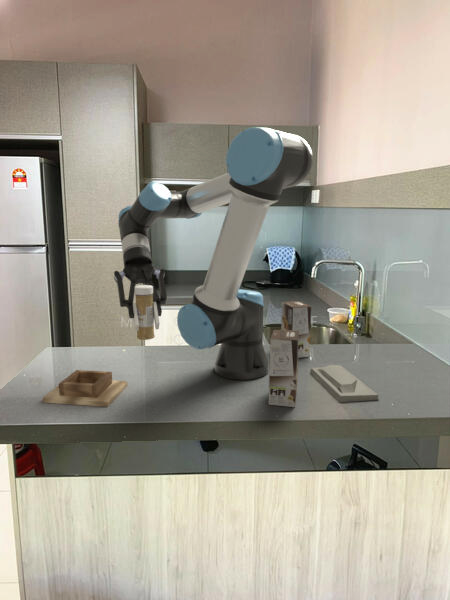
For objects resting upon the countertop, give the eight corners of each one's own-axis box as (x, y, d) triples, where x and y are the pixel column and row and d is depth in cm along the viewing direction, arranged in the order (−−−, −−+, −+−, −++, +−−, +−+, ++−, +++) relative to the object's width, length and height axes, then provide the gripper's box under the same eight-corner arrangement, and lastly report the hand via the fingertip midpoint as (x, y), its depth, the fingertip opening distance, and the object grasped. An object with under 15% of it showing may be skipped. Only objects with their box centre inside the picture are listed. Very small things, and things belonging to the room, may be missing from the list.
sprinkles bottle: (133, 338, 117) (130, 286, 114) (147, 334, 120) (144, 284, 118) (145, 341, 114) (142, 288, 111) (158, 337, 117) (156, 285, 115)
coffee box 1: (310, 357, 142) (312, 306, 139) (291, 358, 140) (292, 307, 137) (297, 348, 151) (299, 300, 147) (279, 350, 149) (280, 301, 146)
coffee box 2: (295, 407, 106) (298, 340, 103) (267, 405, 107) (269, 338, 104) (297, 392, 115) (299, 329, 111) (271, 390, 116) (273, 328, 113)
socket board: (127, 385, 119) (126, 370, 118) (107, 406, 106) (107, 389, 105) (68, 382, 121) (67, 366, 120) (42, 402, 108) (41, 385, 107)
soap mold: (338, 404, 109) (339, 390, 108) (309, 375, 128) (309, 363, 127) (378, 402, 111) (379, 388, 110) (343, 373, 130) (344, 361, 129)
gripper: (167, 261, 131) (180, 332, 118) (104, 264, 126) (111, 338, 113) (169, 244, 125) (184, 316, 112) (103, 246, 120) (111, 321, 107)
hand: (147, 327), depth 113 cm, fingers closed on sprinkles bottle, 4 cm apart
